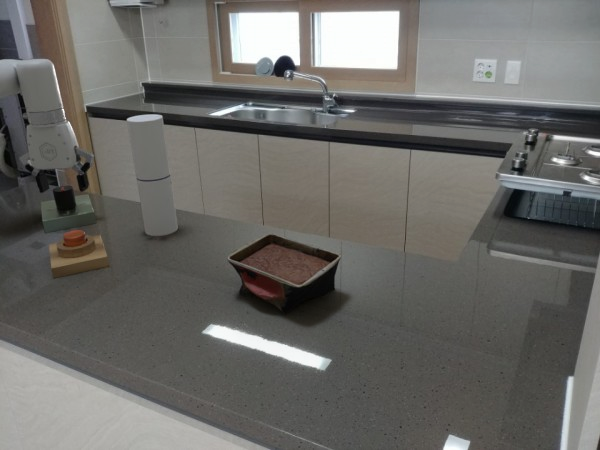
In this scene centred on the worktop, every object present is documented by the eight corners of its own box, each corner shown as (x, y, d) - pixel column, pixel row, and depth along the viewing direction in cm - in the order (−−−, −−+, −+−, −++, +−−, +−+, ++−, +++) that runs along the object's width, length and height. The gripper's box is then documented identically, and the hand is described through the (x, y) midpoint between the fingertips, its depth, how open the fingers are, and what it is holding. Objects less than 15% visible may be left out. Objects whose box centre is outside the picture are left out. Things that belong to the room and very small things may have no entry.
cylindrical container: (139, 235, 117) (119, 121, 107) (154, 222, 124) (137, 114, 114) (169, 237, 116) (152, 122, 106) (183, 224, 122) (168, 114, 112)
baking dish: (288, 338, 83) (296, 283, 79) (216, 286, 93) (219, 235, 89) (346, 306, 93) (356, 256, 89) (275, 262, 103) (281, 215, 99)
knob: (56, 205, 128) (51, 186, 126) (75, 201, 130) (71, 183, 128) (57, 211, 124) (52, 191, 123) (77, 207, 126) (73, 188, 124)
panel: (43, 213, 132) (40, 201, 131) (90, 205, 136) (88, 193, 135) (45, 233, 120) (42, 220, 119) (96, 223, 125) (94, 210, 123)
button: (64, 242, 106) (62, 232, 106) (85, 237, 108) (83, 228, 107) (65, 249, 103) (63, 240, 102) (87, 245, 105) (85, 235, 104)
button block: (51, 254, 110) (46, 236, 109) (102, 243, 114) (98, 226, 112) (53, 278, 100) (49, 259, 98) (109, 266, 104) (105, 247, 102)
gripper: (0, 122, 116) (20, 196, 123) (76, 119, 115) (93, 195, 121) (19, 115, 123) (38, 186, 130) (91, 112, 121) (106, 184, 128)
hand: (64, 190), depth 125 cm, fingers open, 9 cm apart
